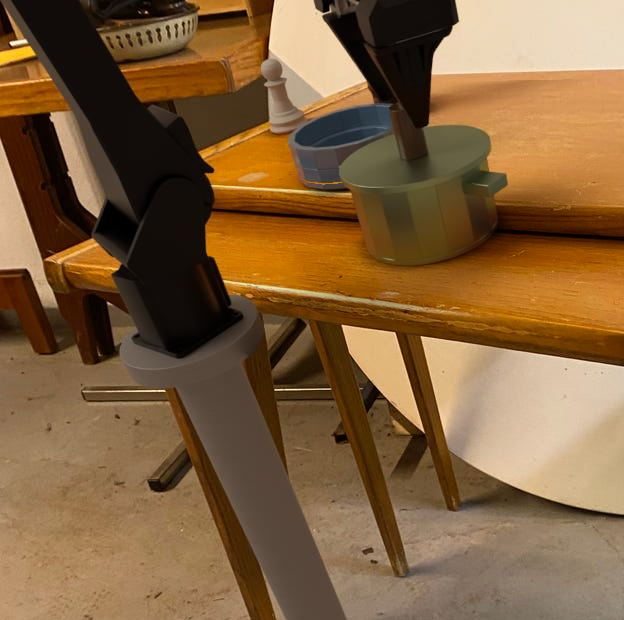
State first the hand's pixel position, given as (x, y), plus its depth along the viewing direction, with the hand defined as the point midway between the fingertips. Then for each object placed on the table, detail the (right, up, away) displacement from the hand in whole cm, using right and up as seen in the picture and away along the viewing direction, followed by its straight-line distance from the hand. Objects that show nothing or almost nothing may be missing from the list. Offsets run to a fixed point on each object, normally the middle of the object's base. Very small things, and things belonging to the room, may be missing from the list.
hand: (403, 113), depth 73 cm
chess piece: (-17, +13, +39) cm, 44 cm away
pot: (+2, -8, +7) cm, 11 cm away
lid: (+1, -3, +2) cm, 4 cm away
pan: (-7, +3, +23) cm, 24 cm away
